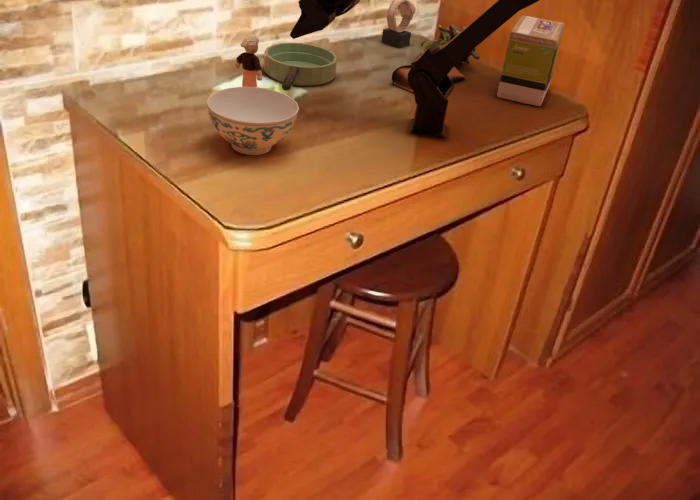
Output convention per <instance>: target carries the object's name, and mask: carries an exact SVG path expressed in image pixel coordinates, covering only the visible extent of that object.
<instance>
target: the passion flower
mask: <svg viewBox="0 0 700 500" xmlns="http://www.w3.org/2000/svg"><path fill="white" fill-rule="evenodd" d="M466 27H467V25H466V26H463V25H461V26H460V28H458V27H455V25H454V24H449V27H446V28H445V27H443V26H442V25H441V24H438V30H439V36H438V38H437V40H434V41H436V43H437V44H438V46H439V47H440V46H442V45H444V44H446V43H448V42H449V41H451V40H452V39H453V38H454V37H455V36H456V35H457V34H459V33H460V32H461V31H462V30H463V29H464V28H466ZM460 29H461V30H460ZM434 41H432V42H431V43H430V42H428V39H425V38H424V39H423V41H422V42H421V43H420V47H422V48H423V46H424V44H425V43H426V44H427V45H425V47H424V49H423V52H425V51H426V50H427V49H428V48H429V47H430V46H431V45H432V43H433V42H434ZM476 50H477V46H476V47H475V48H474V49H473V50H472V51H470V52H469V53H468V54H467V55H466V56H464V57H463V58H462V59H461V60H460V61H458V63H459V64H462V65H463V64H467V65H469V64H470V60H469V58H470V57H471V56H472V57H473V58H474V59H475V60H477V61H478V60H480V58H481V56H480V55H479V54H478V53H477V52H476Z"/></svg>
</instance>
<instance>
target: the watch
mask: <svg viewBox="0 0 700 500" xmlns="http://www.w3.org/2000/svg"><path fill="white" fill-rule="evenodd" d="M397 10H398V12H399V14H400V17H401V21H400V22H399V24H398V25H397V18H396V12H397ZM416 11H417V10H416V7H415V4H414V2H412V1H411V0H392V1H391V2H390V5H389V6H388V9H387V14H386V24H387V27H386V28H383V29H382V33H381V34H382V35H381V43H383V44H386V45H390V46H392V47H395V48H398V49H401V48H403V47H404V48H405V47H408V46H410V44H411V43H410V42H411V36H412V32H411V31H408V30H406V29H408V27H409V25H410V23H411V22H412V20H413V18H414V15H415V13H416Z"/></svg>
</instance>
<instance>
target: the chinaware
mask: <svg viewBox="0 0 700 500" xmlns="http://www.w3.org/2000/svg"><path fill="white" fill-rule="evenodd" d="M206 106H207V107H206V108H207V111H208V115H209V118H210V120H211V121H210V122H212V125H213V126H214V129H215V130H216V132H218V134H219V135H220V136H221V137H222V138H223V139H224V140H225V141H226V142H228V143H230V144H231V147H232V149H233V150H234V151H236V152H238V153H240V154H244V155H250V156H255V155H256V156H257V155H263V154H266V153H268V152H270V151H271V149H272V147H273V146H276V145H277V144H278V143H279V142H281V141H282V140H283V139H285V138H286V136H287V135H288V134H289V133H290V131H291V130H292V128H293V127H294V125H295V122H296V120H297V118H298V114H299V108H300V107H299V104H298V102H297V101H296V100H295V99H294V98H293V97H291V96H289V95H288V94H285V93H283V92H280V91H277V90H274V89H270V88H265V87H259V86H257V87H242V86H233V87H227V88H223V89H220V90H217V91H215V92H213V93H211V94H210V95H209V96H208V98H207V100H206Z"/></svg>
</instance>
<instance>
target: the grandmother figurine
mask: <svg viewBox="0 0 700 500" xmlns="http://www.w3.org/2000/svg"><path fill="white" fill-rule="evenodd" d="M259 42H260V39H259V37H258V36H257V35H256V34H248V35H246V36H245V37H244V38H243V39H242V40H241V43H240V47H241V48H244V52H241V53H240V54H239V55H238V56H237V57H236V61H235V65H234V67H235V68H236V69H239V68H240V67H241V66H242V71H243V72H242V80H241V81H242V82H241V87H258V81H260V82H261V81H263V72H262V70H263V69H262V65H261V62H260V58H259V57H258V56H257V55H256V53H257V52H258V51H259Z"/></svg>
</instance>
